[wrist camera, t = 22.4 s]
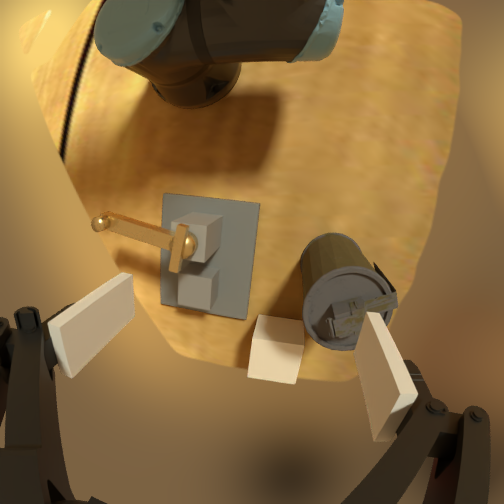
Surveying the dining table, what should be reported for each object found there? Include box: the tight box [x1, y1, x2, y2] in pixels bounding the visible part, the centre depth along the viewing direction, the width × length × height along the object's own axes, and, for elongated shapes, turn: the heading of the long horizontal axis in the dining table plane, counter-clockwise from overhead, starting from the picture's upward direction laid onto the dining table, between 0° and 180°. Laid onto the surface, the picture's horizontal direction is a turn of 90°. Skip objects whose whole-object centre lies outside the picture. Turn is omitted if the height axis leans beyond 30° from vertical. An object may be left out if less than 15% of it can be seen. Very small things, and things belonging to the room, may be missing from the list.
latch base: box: [161, 193, 260, 320], centre depth 45 cm, size 20×16×10 cm
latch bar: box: [91, 211, 198, 273], centre depth 37 cm, size 15×6×4 cm, turn 75°
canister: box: [300, 233, 398, 351], centre depth 38 cm, size 11×10×20 cm
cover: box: [247, 314, 305, 384], centre depth 49 cm, size 8×8×8 cm
